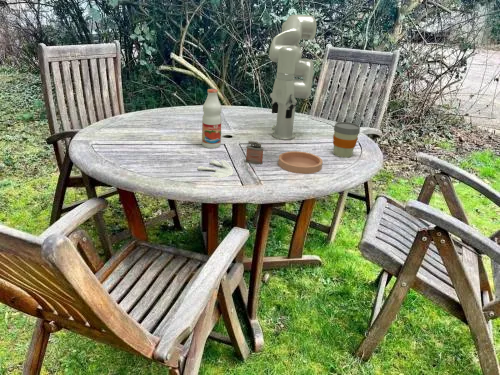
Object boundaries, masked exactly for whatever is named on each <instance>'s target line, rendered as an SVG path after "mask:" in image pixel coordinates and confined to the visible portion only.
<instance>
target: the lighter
mask: <svg viewBox="0 0 500 375" xmlns="http://www.w3.org/2000/svg"><path fill="white" fill-rule="evenodd" d="M247 143H248V145H247V144H246V156H245V157H246V158H245V162H246V163H248V164H252V165H253V164H254V165H259V164H260V166H261V165H263V163H264V162H263V160H264V159H263V158H264V150H265V149H264V147H262V142H258V141H252V140H248V142H247Z"/></svg>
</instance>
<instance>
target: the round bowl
mask: <svg viewBox="0 0 500 375" xmlns="http://www.w3.org/2000/svg"><path fill="white" fill-rule="evenodd" d="M277 162H278V164H277V165H278V166H279V167H280V168H281V169H282V170H285V171H287V172H291V173H295V174H305V175H307V174H315V173H317V172H320V171H321V170H322V168H323V164H324V163H323V162H324V161H323V158H321V157H320V156H318V155H316V154H314V153H311V152H306V151H299V150H298V151H297V150H296V151H295V150H294V151H285V152H282V153H280V154H279V155H278V161H277Z"/></svg>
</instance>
